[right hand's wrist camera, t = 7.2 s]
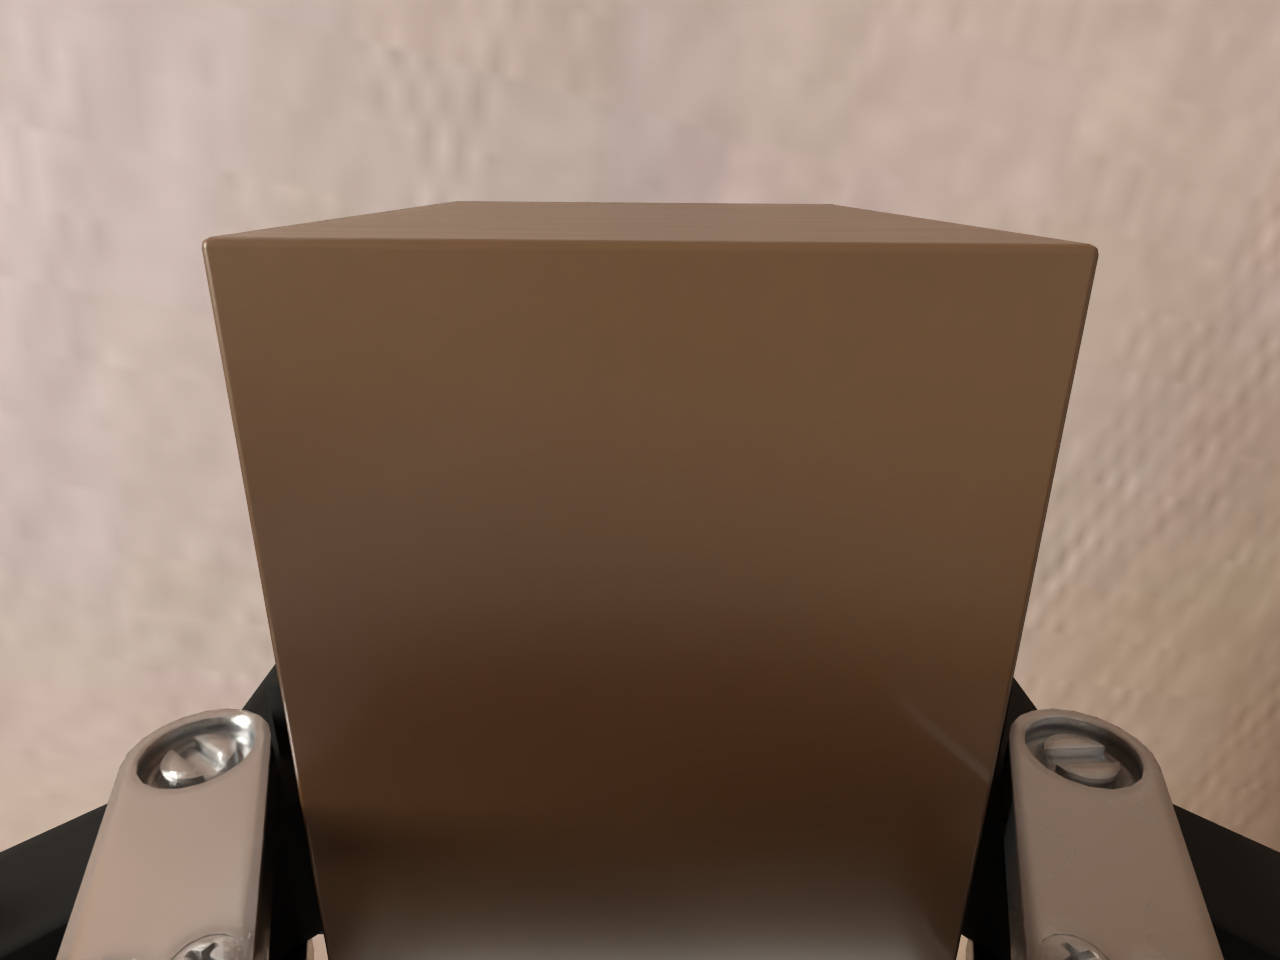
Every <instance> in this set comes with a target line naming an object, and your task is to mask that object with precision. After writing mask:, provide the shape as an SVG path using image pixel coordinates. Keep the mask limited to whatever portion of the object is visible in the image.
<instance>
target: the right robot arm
mask: <svg viewBox="0 0 1280 960" xmlns="http://www.w3.org/2000/svg"><path fill="white" fill-rule="evenodd" d="M317 934H324V932H323V927H322V921H321V915H320V910H319V904H318V899H317V893H316V887H315V882H314V876H313V870H312V865H311V859H310V854H309V848H308V842H307V837H306V831H305V825H304V820H303V814H302V809H301V803H300V797H299V792H298V786H297V780H296V775H295V769H294V763H293V758H292V752H291V747H290V741H289V735H288V730H287V724H286V718H285V713H284V707H283V702H282V696H281V690H280V685H279V679H278V673H277V668H276V664H275V665H274V667H273V668H272V669H271V671H270V672H269V673H268V675H267V676H266V678H265V679H264V680H263V682H262V683H261V684H260V686H259V687H258V688H257V690H256V691H255V693H254V694H253V695H252V697H251V698H250V699H249V701H248V702H247V703H246V705H245V706H244V708H243V709H242V710H237V709H220V710H211V711H204V712H201V713H197V714H194V715H190V716H186V717H183V718H181V719H178V720H176V721H174V722H172V723H169V724H167V725H165V726H162V727H161V728H159V729H158V730H156V731H154V732H153V733H151V734H150V735H148V736H147V737H145V738H143V739H142V740H141V741H140V742H139V743H138V744H137V745H136V746H135V747H134V748H133V749H132V750H131V751H130V752H128V754H127V756H126V757H125V759H124V761H123V763H122V764H121V766H120V768H119V771H118V774H117V777H116V780H115V783H114V786H113V789H112V792H111V795H110V798H109V801H108V804H106V805H103V806H101V807H99V808H97V809H95V810H92V811H90V812H88V813H86V814H84V815H81V816H79V817H77V818H75V819H73V820H70V821H68V822H66V823H64V824H62V825H59V826H57V827H55V828H53V829H51V830H48V831H46V832H44V833H42V834H40V835H37V836H35V837H33V838H31V839H29V840H27V841H24V842H22V843H20V844H18V845H16V846H13V847H11V848H9V849H7V850H5V851H2V852H0V960H314V947H313V942H312V938H313V937H314V936H316V935H317ZM961 934H962V935H963V936H965V937H967V938H968V942H967V947H966V960H1280V853H1279V852H1277V851H1275V850H1273V849H1271V848H1268V847H1266V846H1264V845H1262V844H1260V843H1257V842H1255V841H1253V840H1251V839H1249V838H1246V837H1244V836H1242V835H1240V834H1238V833H1235V832H1233V831H1231V830H1229V829H1227V828H1224V827H1222V826H1220V825H1218V824H1216V823H1213V822H1211V821H1209V820H1207V819H1205V818H1202V817H1200V816H1198V815H1196V814H1194V813H1191V812H1189V811H1187V810H1185V809H1183V808H1180V807H1178V806H1176V805H1174V804H1172V801H1171V798H1170V795H1169V792H1168V789H1167V786H1166V783H1165V780H1164V777H1163V774H1162V771H1161V768H1160V766H1159V764H1158V763H1157V761H1156V759H1155V757H1154V756H1153V754H1152V753H1151V752H1150V751H1149V750H1148V749H1147V748H1146V747H1145V746H1144V745H1143V744H1142V743H1141V742H1140V741H1139V740H1138V739H1137V738H1135V737H1133V736H1132V735H1130V734H1129V733H1127V732H1126V731H1124V730H1122V729H1121V728H1119V727H1118V726H1115V725H1113V724H1111V723H1108V722H1106V721H1104V720H1102V719H1099V718H1097V717H1094V716H1090V715H1086V714H1083V713H1079V712H1076V711H1069V710H1060V709H1043V710H1037V709H1036V707H1035V706H1034V704H1033V703H1032V702H1031V700H1030V699H1029V698H1028V696H1027V695H1026V694H1025V692H1024V691H1023V690H1022V688H1021V687H1020V685H1019V684H1018V683H1017V681H1016V680H1015V679H1014V677H1013V680H1012V685H1011V690H1010V695H1009V700H1008V705H1007V710H1006V715H1005V720H1004V725H1003V730H1002V735H1001V740H1000V745H999V750H998V755H997V760H996V765H995V769H994V774H993V779H992V784H991V789H990V794H989V799H988V804H987V809H986V814H985V819H984V824H983V829H982V834H981V839H980V844H979V849H978V854H977V859H976V863H975V868H974V873H973V878H972V883H971V888H970V893H969V898H968V903H967V908H966V913H965V918H964V923H963V928H962V933H961Z"/></svg>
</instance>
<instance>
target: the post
mask: <svg viewBox="0 0 1280 960" xmlns="http://www.w3.org/2000/svg"><path fill="white" fill-rule="evenodd" d="M202 251H203V257H204V263H205V268H206V274H207V280H208V285H209V291H210V296H211V302H212V308H213V313H214V319H215V325H216V330H217V336H218V341H219V347H220V353H221V358H222V364H223V370H224V375H225V381H226V386H227V392H228V398H229V403H230V409H231V415H232V420H233V426H234V431H235V437H236V443H237V448H238V454H239V460H240V465H241V471H242V476H243V482H244V488H245V493H246V499H247V505H248V510H249V516H250V522H251V527H252V533H253V538H254V544H255V550H256V555H257V561H258V567H259V572H260V578H261V583H262V589H263V595H264V600H265V606H266V612H267V617H268V623H269V628H270V634H271V640H272V645H273V651H274V657H275V662H276V668H277V673H278V679H279V685H280V690H281V696H282V702H283V707H284V713H285V718H286V724H287V730H288V735H289V741H290V747H291V752H292V758H293V763H294V769H295V775H296V780H297V786H298V792H299V797H300V803H301V809H302V814H303V820H304V825H305V831H306V837H307V842H308V848H309V854H310V859H311V865H312V870H313V876H314V882H315V887H316V893H317V899H318V904H319V910H320V915H321V921H322V927H323V932H324V938H325V944H326V949H327V955H328V960H956V957H957V952H958V948H959V943H960V938H961V933H962V928H963V923H964V918H965V913H966V908H967V903H968V898H969V893H970V888H971V883H972V878H973V873H974V868H975V863H976V859H977V854H978V849H979V844H980V839H981V834H982V829H983V824H984V819H985V814H986V809H987V804H988V799H989V794H990V789H991V784H992V779H993V774H994V769H995V765H996V760H997V755H998V750H999V745H1000V740H1001V735H1002V730H1003V725H1004V720H1005V715H1006V710H1007V705H1008V700H1009V695H1010V690H1011V685H1012V680H1013V675H1014V671H1015V666H1016V661H1017V656H1018V651H1019V646H1020V641H1021V636H1022V631H1023V626H1024V621H1025V616H1026V611H1027V606H1028V601H1029V596H1030V591H1031V586H1032V582H1033V577H1034V572H1035V567H1036V562H1037V557H1038V552H1039V547H1040V542H1041V537H1042V532H1043V527H1044V522H1045V517H1046V512H1047V507H1048V502H1049V497H1050V492H1051V488H1052V483H1053V478H1054V473H1055V468H1056V463H1057V458H1058V453H1059V448H1060V443H1061V438H1062V433H1063V428H1064V423H1065V418H1066V413H1067V408H1068V403H1069V399H1070V394H1071V389H1072V384H1073V379H1074V374H1075V369H1076V364H1077V359H1078V354H1079V349H1080V344H1081V339H1082V334H1083V329H1084V324H1085V319H1086V314H1087V309H1088V305H1089V300H1090V295H1091V290H1092V285H1093V280H1094V275H1095V270H1096V265H1097V260H1098V249H1097V248H1096V247H1095V246H1092V245H1090V244H1086V243H1079V242H1073V241H1066V240H1060V239H1053V238H1047V237H1040V236H1034V235H1027V234H1021V233H1014V232H1008V231H1001V230H994V229H988V228H981V227H975V226H968V225H962V224H955V223H949V222H942V221H936V220H929V219H923V218H916V217H910V216H903V215H897V214H890V213H884V212H877V211H871V210H864V209H858V208H851V207H845V206H838V205H832V204H722V203H602V202H482V201H456V202H449V203H442V204H435V205H428V206H421V207H414V208H407V209H400V210H394V211H387V212H380V213H373V214H366V215H359V216H352V217H345V218H338V219H331V220H324V221H318V222H311V223H304V224H297V225H290V226H283V227H276V228H269V229H262V230H255V231H248V232H242V233H235V234H228V235H221V236H214V237H210V238H208V239H205V240H204V241H203V244H202Z"/></svg>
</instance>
